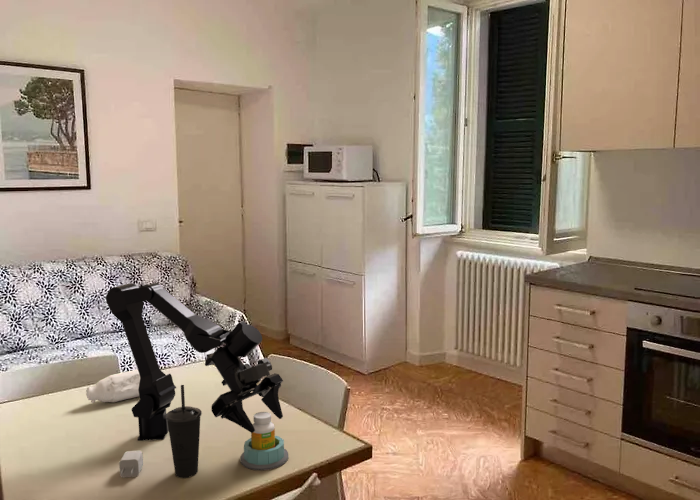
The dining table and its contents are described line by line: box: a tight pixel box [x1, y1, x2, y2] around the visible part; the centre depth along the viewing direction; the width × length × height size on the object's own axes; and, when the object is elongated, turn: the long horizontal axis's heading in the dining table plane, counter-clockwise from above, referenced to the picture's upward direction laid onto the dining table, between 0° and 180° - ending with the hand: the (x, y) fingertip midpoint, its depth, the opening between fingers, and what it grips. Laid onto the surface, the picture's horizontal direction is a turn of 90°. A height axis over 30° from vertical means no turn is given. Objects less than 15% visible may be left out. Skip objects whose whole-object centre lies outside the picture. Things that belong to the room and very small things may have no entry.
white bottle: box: [85, 369, 140, 404], centre depth 179 cm, size 8×19×8 cm, turn 129°
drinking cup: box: [165, 384, 203, 479], centre depth 133 cm, size 8×8×20 cm
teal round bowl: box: [239, 435, 289, 471], centre depth 140 cm, size 11×11×4 cm
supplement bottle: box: [250, 411, 276, 450], centre depth 139 cm, size 5×5×10 cm
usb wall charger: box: [118, 450, 144, 478], centre depth 133 cm, size 4×7×4 cm, turn 7°
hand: (267, 424), depth 138 cm, fingers open, 9 cm apart
